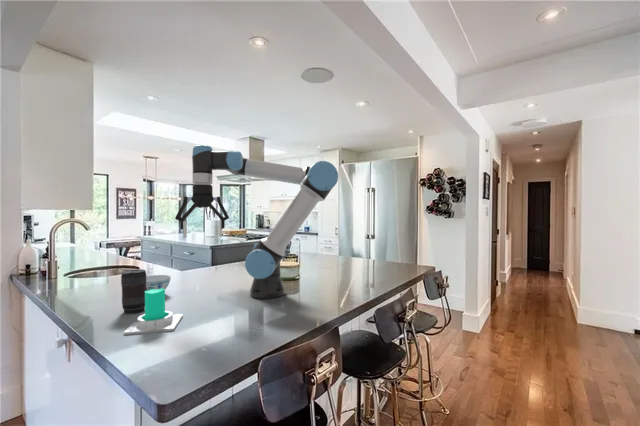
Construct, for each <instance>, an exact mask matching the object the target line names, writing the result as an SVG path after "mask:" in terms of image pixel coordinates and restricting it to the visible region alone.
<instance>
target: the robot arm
mask: <svg viewBox="0 0 640 426" xmlns="http://www.w3.org/2000/svg"><path fill="white" fill-rule="evenodd" d="M191 159H192V184H193V185H192V196H190V197H189V196H186V195H185V196H184V197H183V201H182V204H181V206H180V208H179V210H178V212H177V213H176V215H175V217H174V219H175V220H177V221H179V222H180V230H183V231H182V233H183V239H186V238H188V237H187V235H188V234H187V233H188V232H187V228H188V227H187V225H188V224H187V220H186V219H187V218H188V217H189V216H190V215H191V214H192V213H193V212H194V210H195V209H196V208H199V209H200V208H201V209H202V208H204V209H205V208H210V209H211V210H212V211H213V213H214V214H215V215H216V216H217V217H218V218H219V219H220V220H219V222H218V225H219V226H218V227H219V228H218V229H219V233H218V234H219V235H218V236H219V238H222V237H223V229H225V228H226V227H225V221H226V220H229V219H230V216H229V214H228V213H227V210H226V209H225V207H224V205H223V203H222V199H221V196H216V197H215V196H213V193H214V192H213V185H212V184H213V171H226V172H229V173H231V174H232V175H235V176H246V177H253V178H258V179H264V180H269V181H276V182H281V183H282V182H283V183H288V184H294V185H298V186H299V185H300V190H299V191H298V193H297V195H296V196H295V197H294V198H293V200H292V201H291V203H289V204H290V205H288V207H287V208H286V210H285V211H284V213H283V214H282V215H281V217H280V218H279V219H278V221H277V222H276V224H274V227H272V229H271V231H270V232H269V234H268V235H267V236H266V237H264V238H260V240H259V241H258V242H255V243H254V245H253V249H252V251H250V252H249V253H248V254H247V255H246V258H245V262H244V266H245V270H246V273H248V275H249V276H251V277H252V278H253V280H252V283H251V286H250V288H249V289H250V290H249V293H250V295H249V296H250V297H251V298H253V299H262V300H264V299H274V298H275V299H276V298H280V297H282V296H284V295H285V287H284V283H283V280H282V277H281V276H282V275H281V262H282V259H284V257H285V255H286V254H285V249H286V248H287V246H288V245H289V244H290V242H291V241H292V239H293V238H294V236H295V235H296V234H297V232H298V231H299V230H300V228H301V227H302V225H303V224H304V222H305V221H306V219H307V218H308V217H309V215H311V212H312V211H313V210H314V208H316V205H317V204H318V203H319V202H321V201H322V202H323V201H325V200H326V198H327V197H328V196H329V194H330V193H331V191H332V189H333V188H334V187H335V186H336V185H337V183H338V180H339V172H338V170H337V168H336V166H335V165H334V164H333V163H331V162H330V161H326V160H319V161H315V162H314V163H313V164H312V165H311V166H309V165H308V166H304V167H300V166H293V165H288V164H282V163H281V164H280V163H275V162H274V163H273V162H268V161H264V160H257V159H253V158H252V159H251V158H246V157H243V154H242V152H241V151H237V150H236V151H234V150H219V151H216V150H213V148H212V146H210V145H202V144H198V145H197V144H196V145H194V146H193V147H192V156H191ZM190 201H191V202H192V203H193V204H192V205H191V206H190V208H188V209H187V211H186V212H185V210H186V208H187V205H188V203H190ZM214 201H215V202H216V203H217V204H218V206H219V208H220V211H222V214H223V215H224V216H223V215H222V214H221V213H220V212H219V211H218V209H216V207H215V206H214V205H213V202H214ZM184 212H185V213H184ZM183 213H184V214H183ZM185 220H186V221H185Z"/></svg>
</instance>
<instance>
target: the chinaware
mask: <svg viewBox="0 0 640 426" xmlns="http://www.w3.org/2000/svg"><path fill="white" fill-rule="evenodd" d="M171 278H172V276H171V275H167V274H155V275H154V274H153V275H146V288H147V291H148V290H151V289H162V288H163V289H165V290H166V289H167V288H168V286H170V282H171Z"/></svg>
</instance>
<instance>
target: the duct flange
mask: <svg viewBox="0 0 640 426" xmlns="http://www.w3.org/2000/svg"><path fill="white" fill-rule="evenodd" d="M183 317H184V315H183V313H181V314H178V313H177V314H174V313H173V312H172V311H169V310H165V317H164V318H160V319H156V320H145V313H144V314H141V315H139V316H138V317H137V318H136V320H134V322H132V324H130V326H128V327H127V328H126V329H125V330H124V331H123V332H122V333H123V336H126V335H127V336H129V335H140V334H151V333H163V332H175V330H176V328H177V326H178V325H179V323H180V321H181V320H182V318H183Z"/></svg>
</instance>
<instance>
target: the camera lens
mask: <svg viewBox="0 0 640 426" xmlns="http://www.w3.org/2000/svg"><path fill="white" fill-rule="evenodd" d="M146 276H147V271H146V270H145V269H141V268H140V269H139V268H138V269H130V270H125V271H122V272H121V276H120V284H121V285H120V286H121V304H122V306H121V307H122V309H123V313H124V314H129V315H130V314H131V315H132V314H139V313H142V312H145V291H147V288H146Z"/></svg>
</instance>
